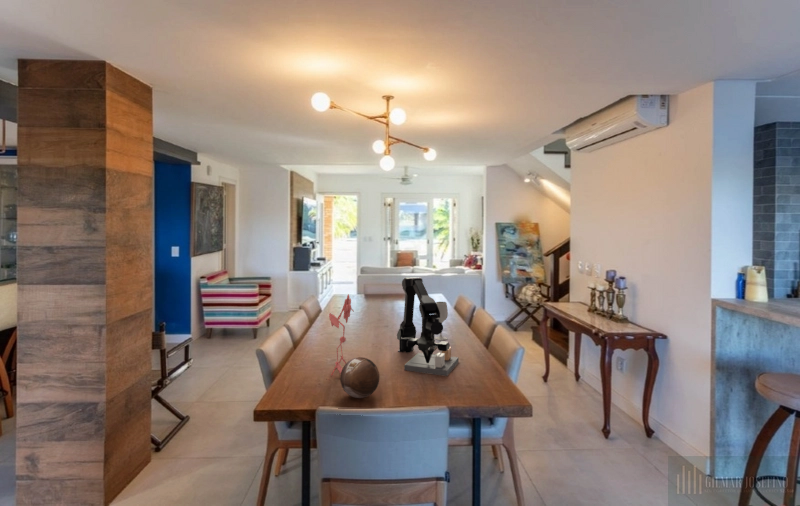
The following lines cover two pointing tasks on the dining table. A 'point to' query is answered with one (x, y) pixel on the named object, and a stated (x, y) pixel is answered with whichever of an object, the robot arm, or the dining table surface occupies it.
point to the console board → (430, 365)
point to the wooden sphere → (359, 377)
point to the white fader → (439, 360)
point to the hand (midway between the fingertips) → (427, 362)
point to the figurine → (336, 322)
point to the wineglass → (442, 316)
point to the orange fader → (447, 354)
